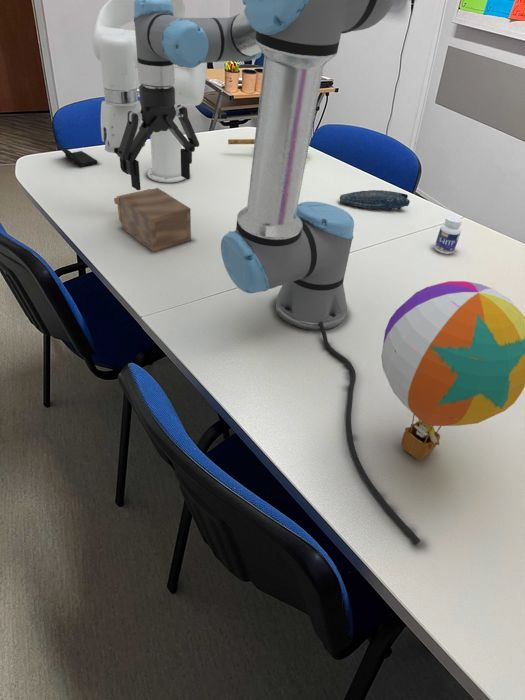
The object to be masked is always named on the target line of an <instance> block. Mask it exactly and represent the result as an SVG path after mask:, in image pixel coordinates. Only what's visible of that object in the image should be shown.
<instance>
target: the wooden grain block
mask: <svg viewBox="0 0 525 700" xmlns="http://www.w3.org/2000/svg"><path fill="white" fill-rule="evenodd" d="M150 189H151V190H147V189H145V190H146V191H143V190H141V191H142V192H138V191H136V192H137V193H134V192H132V193H133V194H129V193H127V194H128V195H125V194H123V195H124V196H121V195H118V196H119V199H120V209H121V218H122V222H121V228H122V230H123V231H125V232H126V233H128V234H129V235H130V236H132V237H133V238H134V239H135V240H137V241H138V242H139V243H141V244H142V245H143V246H144V247H146V248H147V249H149V251H151V252H153V253H154V252H157V251H161V250H164V249H169V248H172V247H175V246H178V245H181V244H184V243H189V242H191V241H192V228H191V227H192V225H191V222H192V221H191V217H192V216H191V208H190V207H188V206H187V205H185V204H184V203H183V202H181V201H179V200H177V199H176V198H174V196H172V195H170V194H168V193H167V192H166V191H163V190H161V189H160V188H159V187H155V188H150Z"/></svg>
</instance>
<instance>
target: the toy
mask: <svg viewBox="0 0 525 700" xmlns="http://www.w3.org/2000/svg"><path fill="white" fill-rule="evenodd" d="M380 357H381V358H380V359H381V367H382V370H383V372H384V375H385V377H386V379H387V381H388V384H389V386H390V388H391V390H392V393H393V394H394V395H395V397H396V398H397V399H398V400H399V401H400V402H401V403H402V405H403V406H404V407H405V408H407V410H408V411H409V412H410V413H412V414H413V415H412V422H411V424H410V427H409V426H407V427H405V428H404V432H403V435H402V437H401V442H400V445H401V446H400V447H401V448H402V450H404V451H406V453H408V454H409V455H410V456H412V457H413V458H414V459H416V460H417V461H421V460H423V459H425V458H426V457H427V456H428V455H429V454H430V453H432V452H433V451H434V450H435V448H436V447H437V446H439V445H440V442H439V441H440V439H441V434H439V431H440V429H441V428H442V427H456V426H467V425H476V424H479V423H482V422H484V421H486V420H488V419H490V418H492V417H495V416H497V415H498V414H501V413H503V412H505V411H507V410H508V409H509V408H510V407H511V406H513V405H514V404H515V403H516V402H517V400H518V399H519V397H520V396H521V394H522V393H523V391H524V390H525V315H524V314H523V313H522V312H521V310H519V308H518V307H517V306H516V305H515V303H514V302H513V301H511V299H510V298H509V297H507V296H506V295H504V294H503V293H501V292H499V291H498V290H496V289H494V288H493V287H489V286H487V285H484V284H481V283H476V282H472V281H465V280H454V281H453V280H449V281H445V282H441V283H437V284H433V285H429V286H426V287H423V288H422V289H419V290H418V291H416V292H415V293H414V294H412V295H411V296H410V297H409V298H408V299H407V300H405V302H404V303H403V304H401V305H400V306H399V307H398V308H397V309H396V310H395V312H394V313H393V314H392V316H391V317H390V318H389V320H388V322H387V325H386V328H385V330H384V335H383V343H382V349H381V355H380ZM415 417H416V418H417V419H418V421H416V422H415V423H414V420H415ZM434 427H438V429H436V431H435V428H434Z"/></svg>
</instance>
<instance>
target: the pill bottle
mask: <svg viewBox="0 0 525 700" xmlns="http://www.w3.org/2000/svg"><path fill="white" fill-rule="evenodd" d="M462 222H463V219H461V218H460V217H458V216H455V215H448V216H446V218H445V220H444V223H443V224H442V225H440V228H439V231H438V234H437V237H436V240H435V243H434V250H435V251H437V252H439V253H441V254H447V255H449V254H453V253H454V252H455V250H456V247H457V244H458V242H459V239H460V236H461V233H462V229H461V225H462Z"/></svg>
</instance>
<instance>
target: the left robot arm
mask: <svg viewBox="0 0 525 700" xmlns="http://www.w3.org/2000/svg"><path fill="white" fill-rule="evenodd" d="M170 1H171V4H172V9H173V13H174V16H175V17H180V18H185V14H186V13H185V12H186V7H185V6H186V5H185V2H184V0H170ZM134 2H135V0H107V1H106V3H104V4H103V6H102V7H101V8H100V10H99V12H98V15H97V18H96V21H95V24H94V28H93V32H92V39H91V40H92V41H91V44H92V50H93V54H94V56H95V58H96V59H97V60H98V61H100V66H101V67H100V68H101V75H102V85H103V93H104V94H103V95H104V100H102V101H101V104H100V105H101V106H100V134H101V141H102V142H103V144H104V151H105V152H107V153H112V154H115V155H117V153H118V150H119V147H120V144H121V141H122V137H123V134H124V131H125V128H126V125H127V118H128V112H129V111H132V112H134V113H140V111H141V104H140V100H139V96H140V94H139V87H137V78H136V77H137V75H136V69H138V61H137V48H136V35H135V29H134V30H132V29H128V28H127V29H126V28H121V27H123V26H125V25H126V24H128V23H131V22H134ZM207 68H208V63H201V64H200V65H198V66H197V67H194V68H186V67H180V66H174V75H175V83H174V85H172V86H173V87H174V88H175V105H174V107H175V108H176V107H177V106H176V105H181V106H189V107H197V106H200V105H201V104H202V103H203V100H204V97H205V90H206V79H207ZM173 121H174V123H175V124H176V125H177V126H178V129H179V130H180V131H181V132H182V125H181V123H180V120H179V118H178V116H177V115H176V116H175V118H174V120H173ZM142 122H143V121H142V119H140V123H138V128H137V131H136V134H135V137H136V135H137V133H138V132H139V128H140V126H141V124H142ZM135 137H134V139H135ZM149 139H150V152H151V153H150V154H151V167H150V168H149V169H147V172H146V173H147V177H148V178H149V179H150V180H152V181H155V182H159V183H168V184H169V183H178V182H181V181H183V180H186V178H184V177H182V176H181V150H180V149H183V148H182V147H183V146H182V145H181V143H180V142H179V141H178V140H177V139H176V137H175V136H174V135H173V134H172V132H171V131H170V130H169V129H168V130H167V131H160V132H156V133H155V132H153V133H152V135H151V136H149ZM145 146H146V143H145V144H144V146H143V147H142V148H144V147H145ZM119 166H120V170H121V172H123V173H125V175H129V174H128V172H127V163H126V160H123V159H121V158H120V157H119Z"/></svg>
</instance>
